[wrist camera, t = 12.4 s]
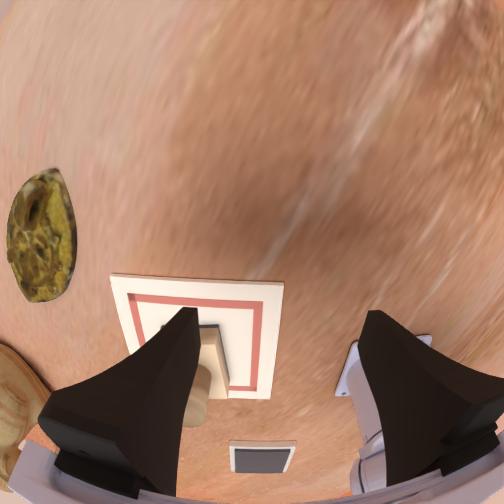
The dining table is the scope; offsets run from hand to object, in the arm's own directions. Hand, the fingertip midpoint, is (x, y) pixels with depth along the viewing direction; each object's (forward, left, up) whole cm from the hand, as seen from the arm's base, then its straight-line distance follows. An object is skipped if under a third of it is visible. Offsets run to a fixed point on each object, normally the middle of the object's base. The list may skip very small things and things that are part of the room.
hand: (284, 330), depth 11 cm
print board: (+6, +10, -9) cm, 15 cm away
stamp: (+6, +11, -9) cm, 15 cm away
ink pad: (-1, +34, -9) cm, 35 cm away
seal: (+21, 0, -10) cm, 23 cm away
